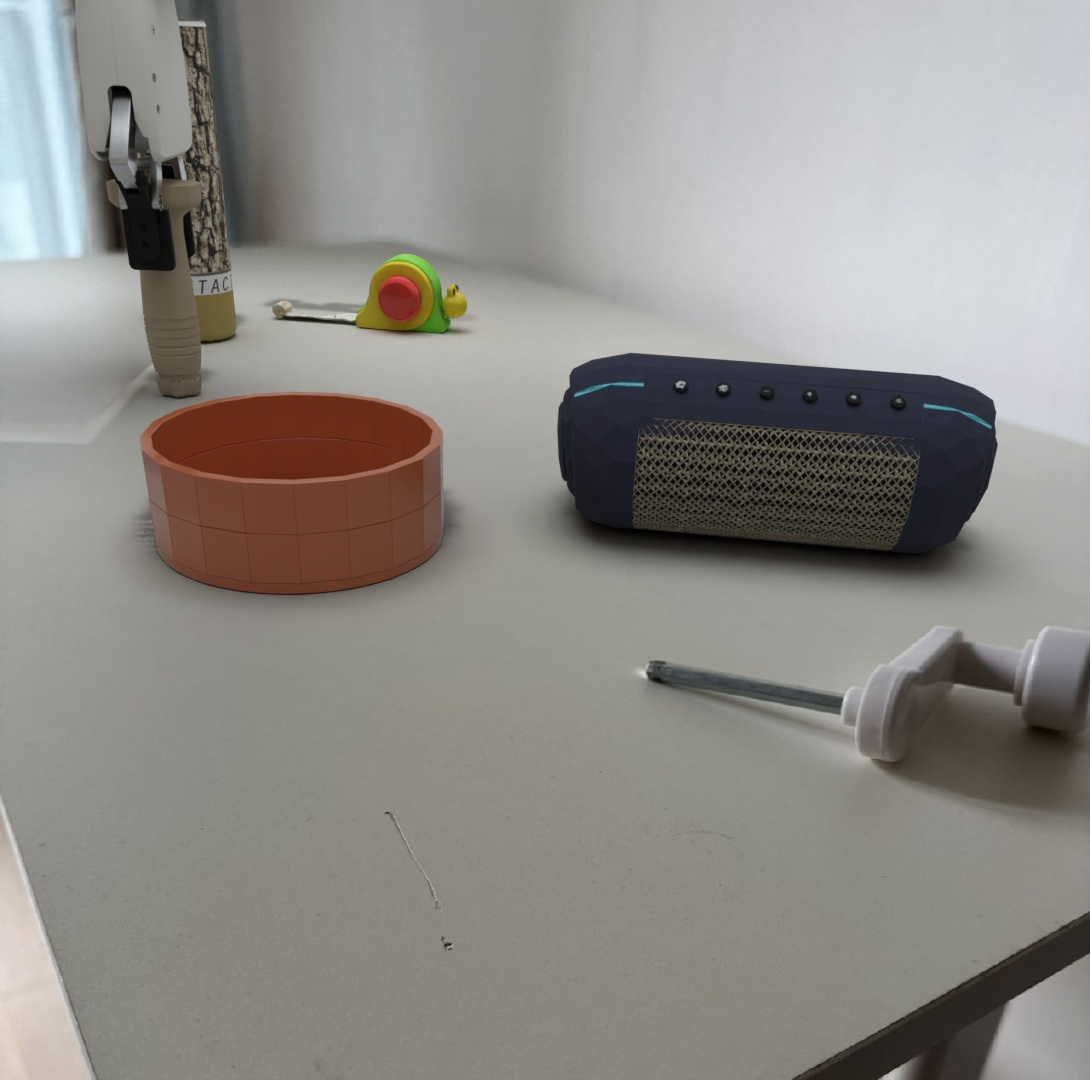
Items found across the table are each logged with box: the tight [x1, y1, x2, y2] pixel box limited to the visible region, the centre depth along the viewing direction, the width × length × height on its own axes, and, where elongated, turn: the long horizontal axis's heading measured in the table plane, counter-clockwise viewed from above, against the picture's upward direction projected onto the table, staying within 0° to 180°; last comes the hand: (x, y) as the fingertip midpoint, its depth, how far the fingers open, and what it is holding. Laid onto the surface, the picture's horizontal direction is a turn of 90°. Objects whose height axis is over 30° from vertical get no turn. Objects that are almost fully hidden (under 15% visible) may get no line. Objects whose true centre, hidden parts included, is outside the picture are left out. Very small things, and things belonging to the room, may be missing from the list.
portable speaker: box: [556, 352, 999, 554], centre depth 65 cm, size 25×10×10 cm, turn 82°
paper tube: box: [136, 17, 238, 343], centre depth 98 cm, size 7×7×25 cm
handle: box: [105, 178, 203, 399], centre depth 84 cm, size 5×6×15 cm
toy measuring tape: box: [271, 253, 468, 334], centre depth 109 cm, size 6×20×7 cm, turn 80°
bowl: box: [139, 391, 445, 595], centre depth 64 cm, size 16×16×6 cm
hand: (163, 259), depth 83 cm, fingers closed on handle, 4 cm apart
